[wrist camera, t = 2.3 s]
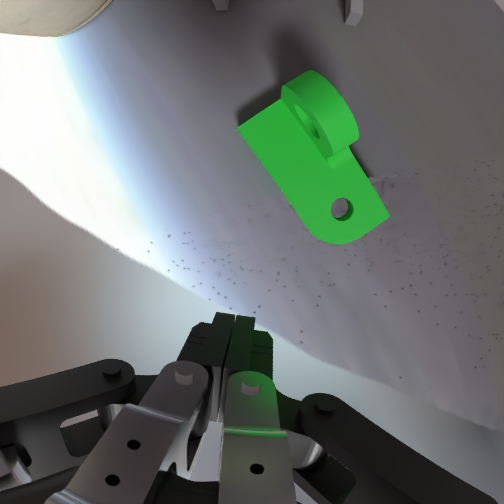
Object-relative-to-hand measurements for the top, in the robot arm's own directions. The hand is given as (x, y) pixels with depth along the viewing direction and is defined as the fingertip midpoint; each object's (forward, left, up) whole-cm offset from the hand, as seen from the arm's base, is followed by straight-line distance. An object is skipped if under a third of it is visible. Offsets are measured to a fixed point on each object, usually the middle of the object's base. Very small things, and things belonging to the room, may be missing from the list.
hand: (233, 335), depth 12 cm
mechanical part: (-4, -7, -15) cm, 17 cm away
